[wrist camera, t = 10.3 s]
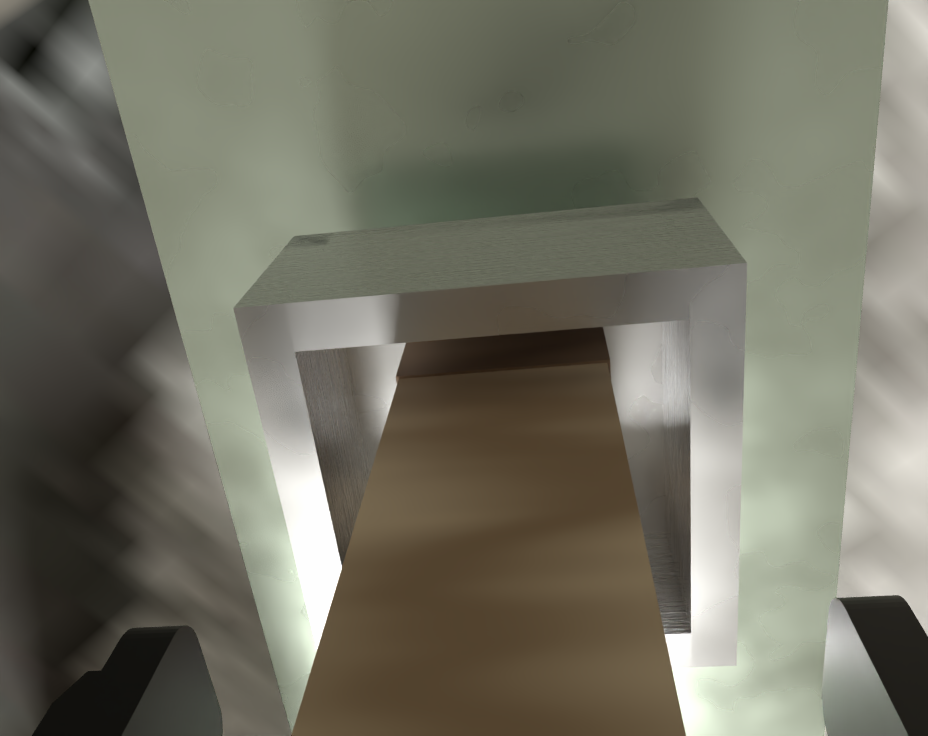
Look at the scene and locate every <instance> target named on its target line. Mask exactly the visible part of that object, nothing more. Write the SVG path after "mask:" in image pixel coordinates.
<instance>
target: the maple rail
mask: <svg viewBox="0 0 928 736" xmlns="http://www.w3.org/2000/svg"><path fill="white" fill-rule="evenodd" d="M396 382H397V386H396V390H395V393H394V396H393V400H392V403H391V406H390V410H389V413H388V416H387V420H386V423H385V426H384V430H383V433H382V436H381V440H380V443H379V446H378V449H377V453H376V456H375V459H374V463H373V466H372V469H371V473H370V476H369V479H368V483H367V486H366V489H365V493H364V496H363V499H362V503H361V506H360V509H359V512H358V516H357V519H356V522H355V526H354V529H353V532H352V536H351V539H350V542H349V546H348V549H347V552H346V556H345V559H344V562H343V566H342V569H341V572H340V575H339V579H338V582H337V585H336V589H335V592H334V595H333V599H332V602H331V605H330V609H329V612H328V615H327V619H326V622H325V625H324V629H323V632H322V635H321V639H320V642H319V645H318V648H317V652H316V655H315V658H314V662H313V665H312V668H311V672H310V675H309V678H308V682H307V685H306V688H305V692H304V695H303V698H302V702H301V705H300V708H299V711H298V715H297V718H296V721H295V725H294V728H293V731H292V735H291V736H686V733H685V728H684V723H683V719H682V714H681V709H680V704H679V700H678V695H677V690H676V685H675V681H674V676H673V671H672V667H671V662H670V657H669V652H668V648H667V643H666V638H665V633H664V629H663V624H662V619H661V614H660V610H659V605H658V600H657V596H656V591H655V586H654V581H653V577H652V572H651V567H650V562H649V558H648V553H647V548H646V544H645V539H644V534H643V529H642V525H641V520H640V515H639V510H638V506H637V501H636V496H635V491H634V487H633V482H632V477H631V473H630V468H629V463H628V458H627V454H626V449H625V444H624V439H623V435H622V430H621V425H620V421H619V416H618V411H617V406H616V402H615V397H614V392H613V387H612V383H611V368H610V357H609V352H608V348H607V343H606V339H605V334H604V330H603V327H593V328H581V329H568V330H556V331H544V332H531V333H519V334H507V335H495V336H482V337H470V338H458V339H446V340H433V341H421V342H409V343H406V345H405V348H404V351H403V354H402V357H401V361H400V364H399V367H398V370H397V373H396Z"/></svg>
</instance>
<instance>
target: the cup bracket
mask: <svg viewBox="0 0 928 736" xmlns="http://www.w3.org/2000/svg"><path fill="white" fill-rule="evenodd" d="M89 4H90V7H91V11H92V15H93V18H94V22H95V25H96V29H97V33H98V36H99V40H100V44H101V47H102V51H103V54H104V58H105V62H106V65H107V69H108V72H109V76H110V80H111V83H112V87H113V90H114V94H115V98H116V101H117V105H118V109H119V112H120V116H121V119H122V123H123V127H124V130H125V134H126V137H127V141H128V145H129V148H130V152H131V155H132V159H133V163H134V166H135V170H136V174H137V177H138V181H139V184H140V188H141V192H142V195H143V199H144V202H145V206H146V210H147V213H148V217H149V220H150V224H151V228H152V231H153V235H154V239H155V242H156V246H157V249H158V253H159V257H160V260H161V264H162V267H163V271H164V275H165V278H166V282H167V285H168V289H169V293H170V296H171V300H172V304H173V307H174V311H175V314H176V318H177V322H178V325H179V329H180V332H181V336H182V340H183V343H184V347H185V350H186V354H187V358H188V361H189V365H190V369H191V372H192V376H193V379H194V383H195V387H196V390H197V394H198V397H199V401H200V405H201V408H202V412H203V415H204V419H205V423H206V426H207V430H208V434H209V437H210V441H211V444H212V448H213V452H214V455H215V459H216V462H217V466H218V470H219V473H220V477H221V480H222V484H223V488H224V491H225V495H226V499H227V502H228V506H229V509H230V513H231V517H232V520H233V524H234V527H235V531H236V535H237V538H238V542H239V545H240V549H241V553H242V556H243V560H244V564H245V567H246V571H247V574H248V578H249V582H250V585H251V589H252V592H253V596H254V600H255V603H256V607H257V610H258V614H259V618H260V621H261V625H262V629H263V632H264V636H265V639H266V643H267V647H268V650H269V654H270V657H271V661H272V665H273V668H274V672H275V676H276V679H277V683H278V686H279V690H280V694H281V697H282V701H283V704H284V708H285V712H286V715H287V719H288V722H289V726H290V730H291V733H292V731H293V728H294V725H295V721H296V718H297V715H298V711H299V708H300V705H301V702H302V698H303V695H304V692H305V688H306V685H307V682H308V678H309V675H310V672H311V668H312V665H313V662H314V658H315V655H316V652H317V648H318V645H319V642H320V639H321V635H322V632H323V629H324V625H325V622H326V619H327V615H328V612H329V609H330V605H331V602H332V599H333V595H334V592H335V589H336V585H337V582H338V579H339V575H340V572H341V569H342V566H343V562H344V559H345V556H346V552H347V549H348V546H349V542H350V539H351V536H352V532H353V529H354V526H355V522H356V519H357V516H358V512H359V509H360V506H361V503H362V499H363V496H364V493H365V489H366V486H367V483H368V479H369V476H370V473H371V469H372V466H373V463H374V459H375V456H376V453H377V449H378V446H379V443H380V440H381V436H382V433H383V430H384V426H385V423H386V420H387V416H388V413H389V410H390V406H391V403H392V400H393V396H394V393H395V390H396V386H397V382H396V373H397V370H398V367H399V364H400V361H401V357H402V354H403V351H404V348H405V345H406V343H409V342H421V341H433V340H446V339H458V338H470V337H482V336H495V335H507V334H519V333H531V332H544V331H556V330H568V329H581V328H593V327H603V330H604V334H605V339H606V343H607V348H608V352H609V357H610V368H611V383H612V387H613V392H614V397H615V402H616V406H617V411H618V416H619V421H620V425H621V430H622V435H623V439H624V444H625V449H626V454H627V458H628V463H629V468H630V473H631V477H632V482H633V487H634V491H635V496H636V501H637V506H638V510H639V515H640V520H641V525H642V529H643V534H644V539H645V544H646V548H647V553H648V558H649V562H650V567H651V572H652V577H653V581H654V586H655V591H656V596H657V600H658V605H659V610H660V614H661V619H662V624H663V629H664V633H665V638H666V643H667V648H668V652H669V657H670V662H671V667H672V671H673V676H674V681H675V685H676V690H677V695H678V700H679V704H680V709H681V714H682V719H683V723H684V728H685V733H686V736H824V732H825V722H824V716H823V708H822V682H823V670H824V658H825V646H826V634H827V622H828V611H829V606H830V603H831V601H832V600H833V599H834V598H836V594H837V583H838V571H839V560H840V548H841V537H842V526H843V514H844V503H845V491H846V480H847V468H848V457H849V445H850V434H851V423H852V411H853V400H854V388H855V377H856V365H857V354H858V342H859V331H860V319H861V308H862V297H863V285H864V274H865V262H866V251H867V239H868V228H869V216H870V205H871V193H872V182H873V171H874V159H875V148H876V136H877V125H878V113H879V102H880V90H881V79H882V68H883V56H884V45H885V33H886V22H887V10H888V0H89Z"/></svg>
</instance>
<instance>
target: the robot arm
mask: <svg viewBox="0 0 928 736" xmlns="http://www.w3.org/2000/svg"><path fill="white" fill-rule="evenodd" d="M822 708H823V716H824V722H825V726H826V731H827V735H828V736H928V636H927V635H926V633H925V631H924V630H923V628H922V626H921V625H920V623H919V621H918V620H917V618H916V616H915V615H914V613H913V611H912V610H911V608H910V606H909V605H908V603H907V602H906V601H905V600H904V599H903V598H902V597H901V596H898V595H893V596H871V597H849V598H834V599H833V600H832V601H831V603H830V606H829V611H828V622H827V634H826V646H825V658H824V670H823V682H822ZM32 736H222V716H221V710H220V706H219V703H218V700H217V697H216V694H215V691H214V688H213V685H212V682H211V678H210V675H209V672H208V669H207V666H206V663H205V660H204V657H203V654H202V650H201V647H200V644H199V641H198V638H197V636H196V633H195V632H194V630H193V629H192V628H191V627H189V626H166V627H144V628H132V629H129V630H128V631H127V632H126V633H125V634H124V635H123V636H122V637H121V639H120V640H119V642H118V644H117V645H116V647H115V649H114V650H113V652H112V654H111V655H110V657H109V659H108V660H107V662H106V664H105V665H104V667H103V669H102V670H101V671H88V672H86V673H85V674H84V675H83V676H82V677H81V678H80V679H79V680H78V681H77V682H75V683H74V684H73V685H72V686H71V687H70V688H69V689H68V690H67V691H66V692H64V693H63V694H62V695H61V696H60V697H59V698H58V699H57V700H56V701H55V702H53V703H52V705H51V706H50V708H49V710H48V711H47V713H46V714H45V716H44V717H43V719H42V721H41V722H40V724H39V725H38V727H37V728H36V730H35V731H34V733H33V735H32Z"/></svg>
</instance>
